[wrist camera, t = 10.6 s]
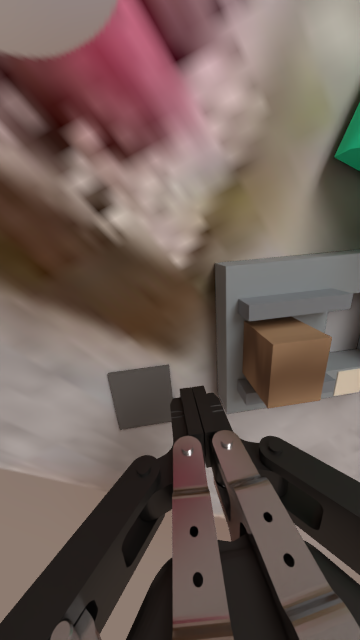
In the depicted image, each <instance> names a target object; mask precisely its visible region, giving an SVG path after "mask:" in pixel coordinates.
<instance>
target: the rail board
mask: <svg viewBox="0 0 360 640" xmlns="http://www.w3.org/2000/svg"><path fill="white" fill-rule="evenodd" d="M215 290H216V333H217V376H218V395H219V397H220V400H221V402H222V404H223V406H224V409H225V411H226V413H227V414H231V413H237V412H243V411H249V410H255V409H262V408H267V407H266V405H265V404H264V402H263V401H262V400H261V398H260V397H259V395H258V394H257V393H256V391H255V390H254V388H253V387H252V386H251V384H250V383H249V381H248V380H247V378H246V377H245V376H244V374H243V373H242V369H243V340H244V321H247V320H248V321H256V320H265V319H273V318H281V317H289V316H291V317H293V318H295V319H297V320H299V321H301V322H303V323H305V324H307V325H309V326H311V327H313V328H315V329H317V330H319V331H321V332H323V333H325V328H326V321H327V315H328V312H330V311H338V310H346V309H350V308H351V303H352V298H353V293H360V249H358V250H348V251H337V252H327V253H316V254H306V255H295V256H285V257H274V258H264V259H253V260H243V261H232V262H222V263H215ZM354 393H360V337H359V341H358V346H357V349H352V350H345V351H338V352H331V353H329V357H328V362H327V367H326V372H325V378H324V383H323V388H322V394H321V399H323V398H330V397H336V396H342V395H348V394H354Z"/></svg>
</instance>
